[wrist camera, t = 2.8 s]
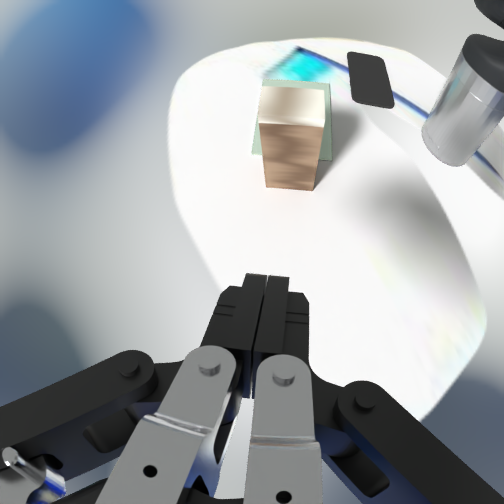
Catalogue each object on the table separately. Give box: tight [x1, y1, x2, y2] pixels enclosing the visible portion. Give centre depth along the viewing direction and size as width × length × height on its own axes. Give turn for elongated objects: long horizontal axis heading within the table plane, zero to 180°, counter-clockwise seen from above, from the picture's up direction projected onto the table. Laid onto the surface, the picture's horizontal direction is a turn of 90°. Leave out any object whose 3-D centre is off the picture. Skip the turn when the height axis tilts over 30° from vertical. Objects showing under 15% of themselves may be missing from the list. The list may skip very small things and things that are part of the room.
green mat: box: [251, 79, 332, 161], centre depth 41 cm, size 11×16×1 cm
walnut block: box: [258, 86, 325, 191], centre depth 31 cm, size 6×4×14 cm, turn 83°
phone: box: [347, 52, 394, 109], centre depth 42 cm, size 7×1×15 cm
